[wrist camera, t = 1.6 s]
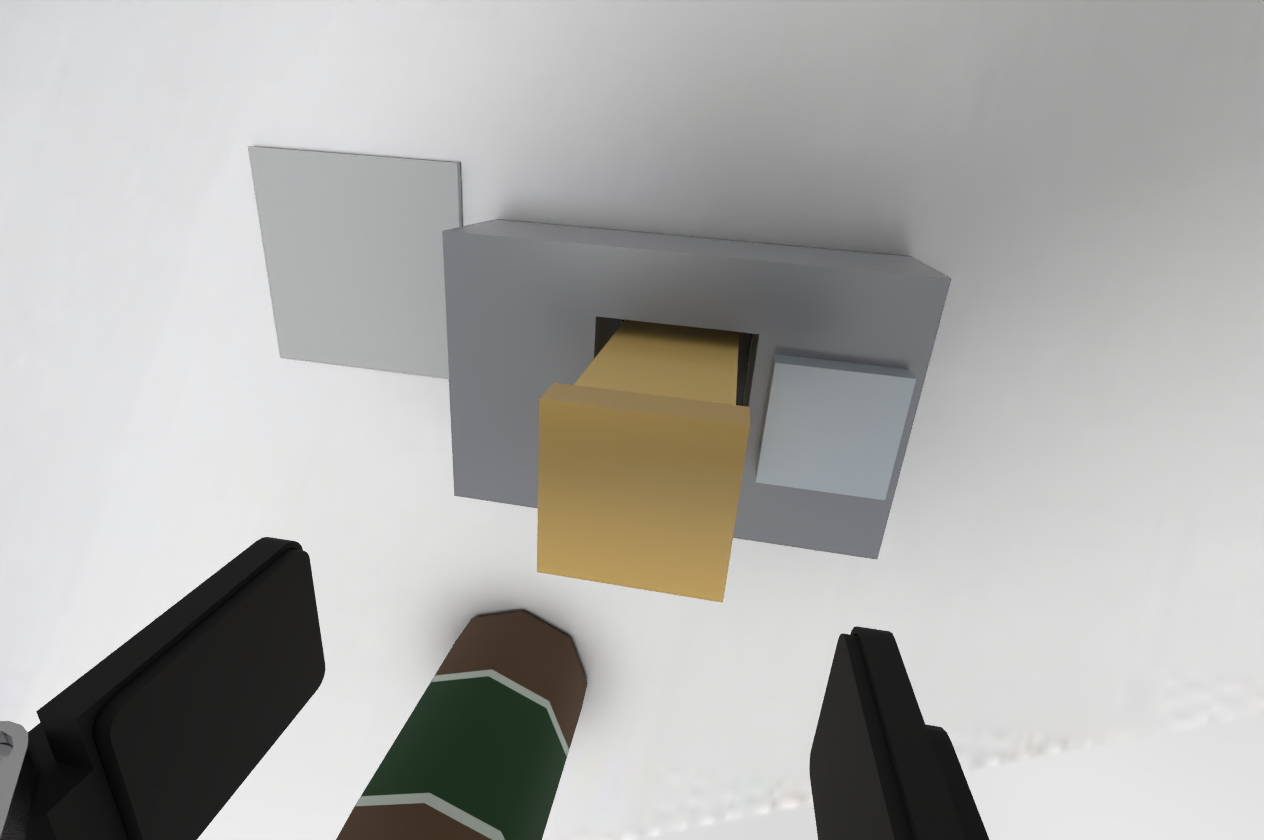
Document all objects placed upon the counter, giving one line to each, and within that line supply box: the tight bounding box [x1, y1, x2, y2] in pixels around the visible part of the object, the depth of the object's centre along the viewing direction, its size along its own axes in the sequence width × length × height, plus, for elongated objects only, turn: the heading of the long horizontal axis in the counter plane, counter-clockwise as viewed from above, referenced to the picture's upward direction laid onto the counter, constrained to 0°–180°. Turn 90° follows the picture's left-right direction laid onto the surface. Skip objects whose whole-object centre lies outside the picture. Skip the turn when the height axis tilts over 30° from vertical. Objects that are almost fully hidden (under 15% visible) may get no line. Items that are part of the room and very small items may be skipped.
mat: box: [248, 146, 462, 379], centre depth 27 cm, size 9×9×1 cm
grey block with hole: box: [442, 219, 951, 559], centre depth 23 cm, size 16×10×6 cm, turn 86°
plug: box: [537, 320, 750, 602], centre depth 21 cm, size 5×5×12 cm
